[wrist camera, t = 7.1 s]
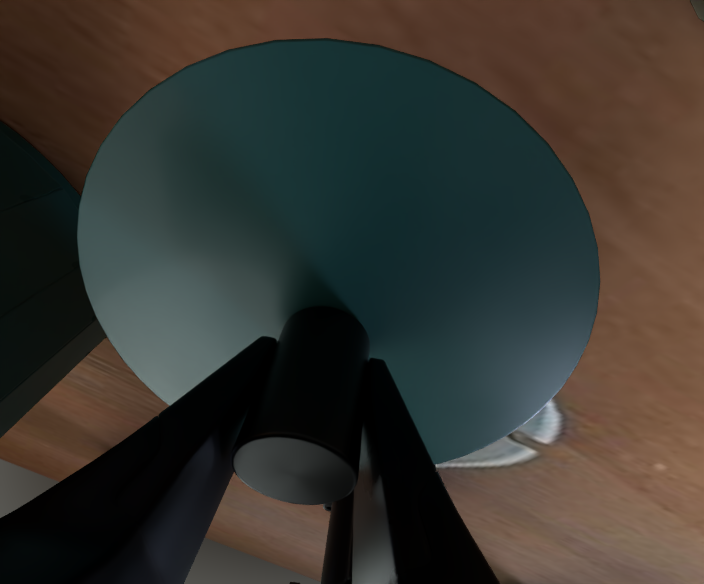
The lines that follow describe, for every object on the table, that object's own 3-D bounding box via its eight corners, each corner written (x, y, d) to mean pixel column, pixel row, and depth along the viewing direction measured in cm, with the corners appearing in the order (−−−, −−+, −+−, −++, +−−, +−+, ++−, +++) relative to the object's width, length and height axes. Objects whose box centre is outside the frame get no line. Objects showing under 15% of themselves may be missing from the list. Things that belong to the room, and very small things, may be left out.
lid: (721, 120, 7) (1202, 203, 3) (468, 474, 15) (496, 632, 11) (31, -28, 7) (-540, -171, 3) (147, 410, 15) (51, 546, 11)
